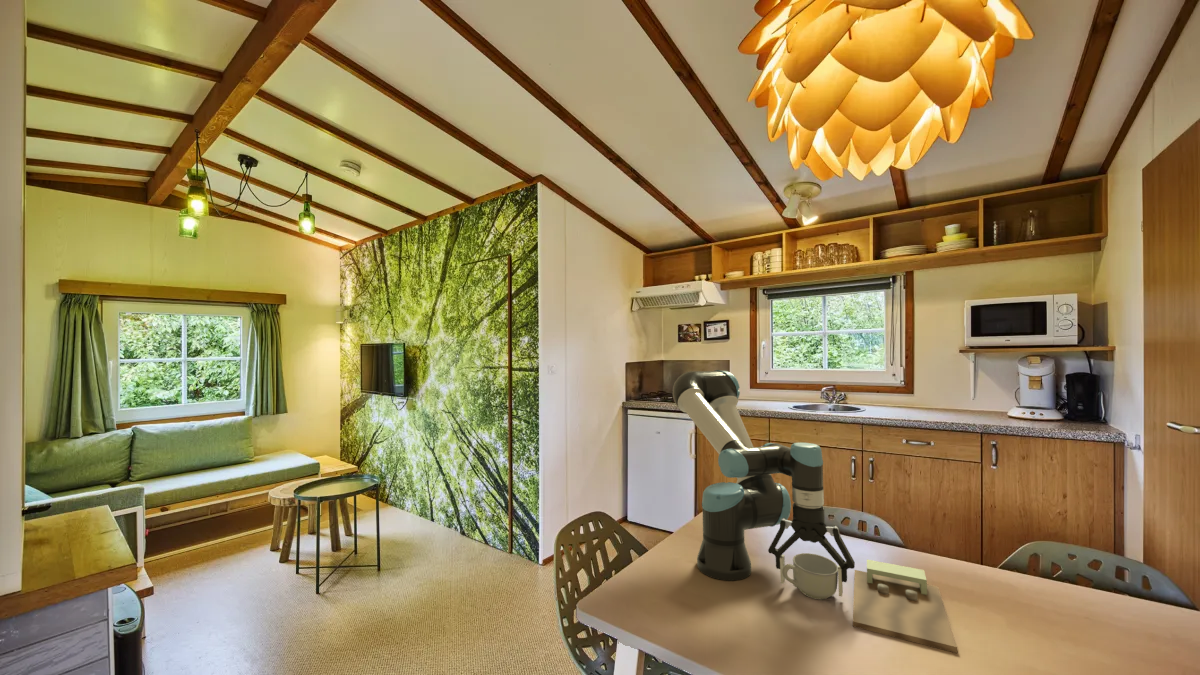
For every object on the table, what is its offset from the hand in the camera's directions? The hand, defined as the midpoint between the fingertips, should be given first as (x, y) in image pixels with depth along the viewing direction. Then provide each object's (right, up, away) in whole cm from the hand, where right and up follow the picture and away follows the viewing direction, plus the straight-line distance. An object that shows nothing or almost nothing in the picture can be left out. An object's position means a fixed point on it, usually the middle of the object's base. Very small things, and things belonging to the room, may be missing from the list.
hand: (811, 587), depth 119 cm
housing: (+23, 0, +2) cm, 24 cm away
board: (+18, -1, -7) cm, 19 cm away
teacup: (0, -2, 0) cm, 2 cm away
